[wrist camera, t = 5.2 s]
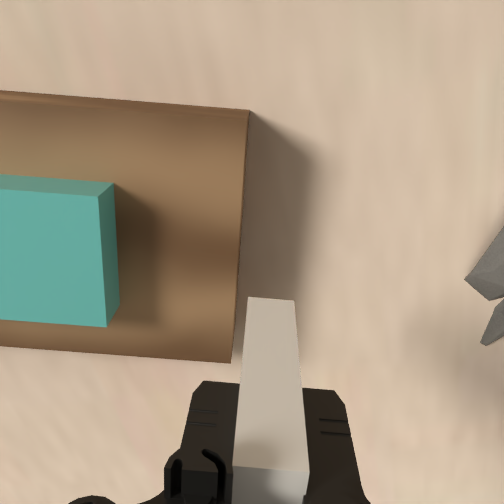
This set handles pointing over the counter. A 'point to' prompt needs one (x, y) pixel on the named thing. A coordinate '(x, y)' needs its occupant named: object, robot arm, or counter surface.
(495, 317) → the cloth
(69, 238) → the rectangular block
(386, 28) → the counter surface
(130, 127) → the brown wooden slab
